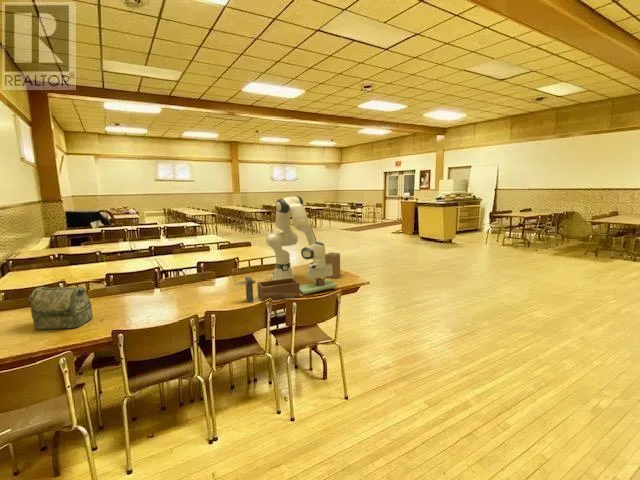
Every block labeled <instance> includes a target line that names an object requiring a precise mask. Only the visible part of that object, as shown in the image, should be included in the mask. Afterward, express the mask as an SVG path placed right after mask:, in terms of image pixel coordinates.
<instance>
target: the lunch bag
mask: <svg viewBox="0 0 640 480" xmlns="http://www.w3.org/2000/svg"><path fill="white" fill-rule="evenodd" d="M31 292H32V293H29V295H28V300H27V301H28V302H30V313H31V318H32V321H33V326H34V330H35V331H36V330H58V329H59V330H60V329H62V330H64V329H75V328H78V327H81V326H83V325H84V324H86V323H87V322H88V321H90V320H91V319H92V318H93V317H94V315H93V311H92V310H93V309H92V303H91V300H90V297H89V295H88V293H87V290H86V289H85V288H84V287H83V286H71V287H60V286H59V287H44V286H39V287H37V288H35V289H33V290H32V291H31Z"/></svg>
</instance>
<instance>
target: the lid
mask: <svg viewBox="0 0 640 480" xmlns="http://www.w3.org/2000/svg"><path fill="white" fill-rule="evenodd" d="M316 281H318V282H317V284H315V282H311V283H307V284H303V285H300V294H302V295H308V294H312V293H316V292H317V293H318V292H320V291H324V290H328V289H329V290H330V289H333V288H335V287H338V283H335V282H334V281H332V280H330V278H328V279H325V282H324V280H323V278H322V277H318V278H316Z"/></svg>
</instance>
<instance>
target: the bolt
mask: <svg viewBox="0 0 640 480" xmlns="http://www.w3.org/2000/svg"><path fill="white" fill-rule="evenodd" d="M252 282H253V285H254V284H256V283H257V282H256V279H255V278H254V279H253V278H252ZM246 284H247V280H246V279H245V280H238V281H237V280H236V281H234V285H235V286H236V287H237V286H238V287H239V286H244V285H245V286H246Z"/></svg>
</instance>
